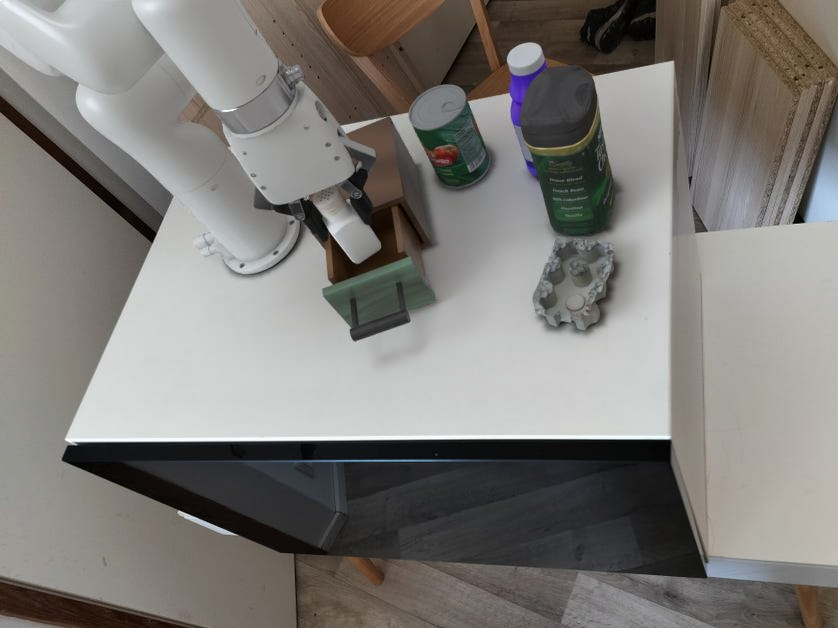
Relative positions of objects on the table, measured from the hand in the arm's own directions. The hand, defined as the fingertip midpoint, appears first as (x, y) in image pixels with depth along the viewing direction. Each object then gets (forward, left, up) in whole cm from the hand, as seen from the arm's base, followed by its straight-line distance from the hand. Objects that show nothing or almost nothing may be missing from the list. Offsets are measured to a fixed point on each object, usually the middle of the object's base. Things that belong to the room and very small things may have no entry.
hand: (346, 223), depth 77 cm
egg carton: (+22, -10, -13) cm, 28 cm away
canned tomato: (+13, +17, -13) cm, 25 cm away
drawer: (0, -1, -12) cm, 12 cm away
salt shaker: (0, 0, -5) cm, 5 cm away
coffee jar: (+26, +2, -13) cm, 30 cm away
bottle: (+25, +11, -13) cm, 30 cm away
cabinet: (0, +13, -13) cm, 18 cm away
